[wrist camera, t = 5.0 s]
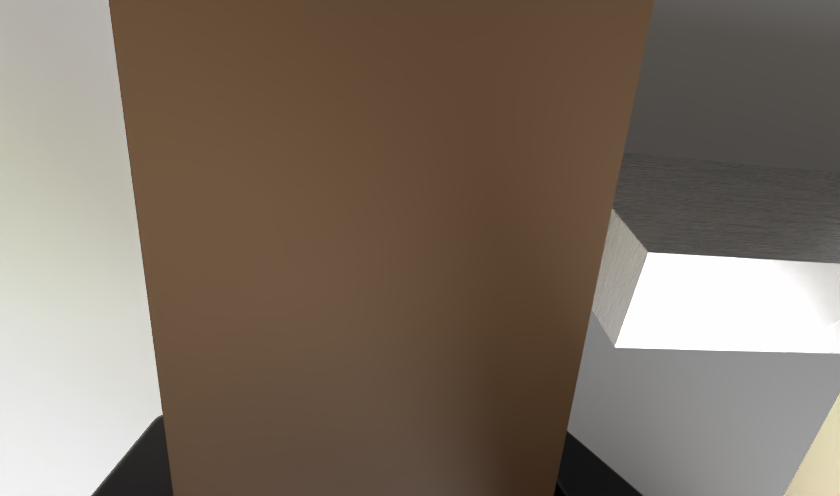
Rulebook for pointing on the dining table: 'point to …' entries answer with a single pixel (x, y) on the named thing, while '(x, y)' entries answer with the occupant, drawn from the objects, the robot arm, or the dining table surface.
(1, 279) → the dining table surface
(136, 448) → the robot arm
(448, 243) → the walnut bar
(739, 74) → the stand
